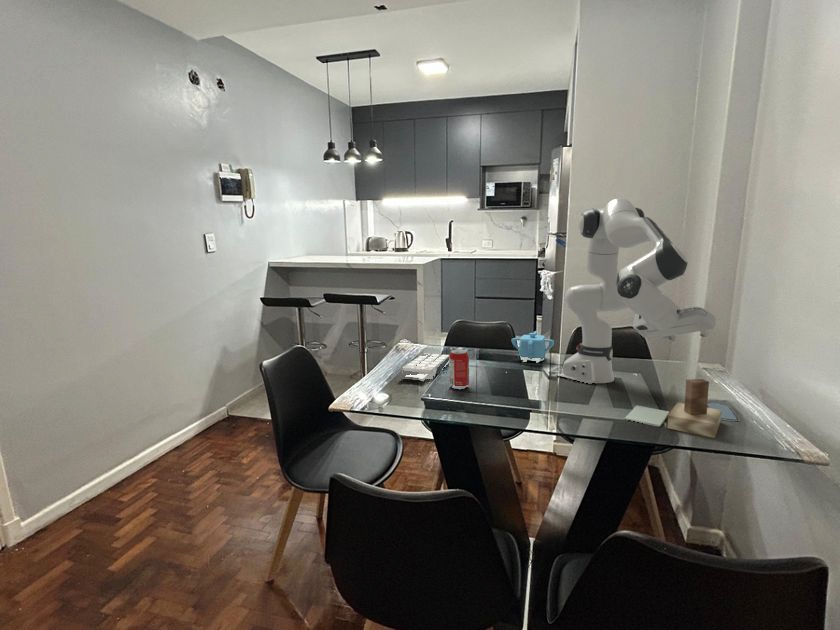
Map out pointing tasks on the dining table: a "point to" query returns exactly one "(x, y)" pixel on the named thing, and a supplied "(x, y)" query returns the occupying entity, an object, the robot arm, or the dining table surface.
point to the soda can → (459, 368)
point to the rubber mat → (647, 416)
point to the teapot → (532, 345)
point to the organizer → (424, 365)
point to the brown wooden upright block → (696, 396)
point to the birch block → (695, 421)
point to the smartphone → (724, 411)
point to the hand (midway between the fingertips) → (688, 337)
